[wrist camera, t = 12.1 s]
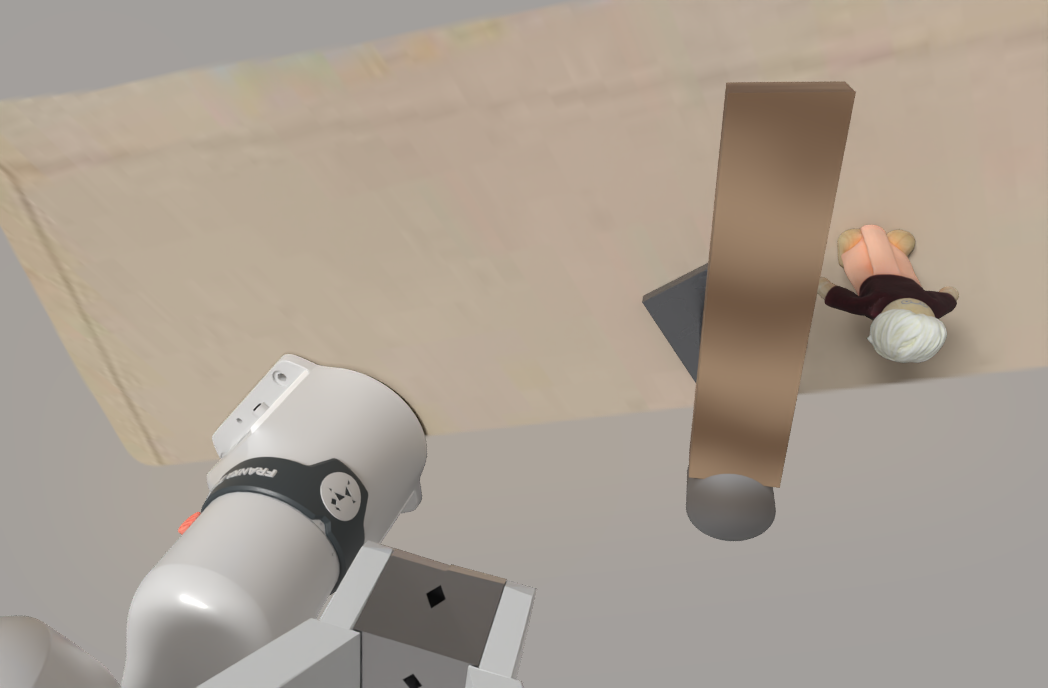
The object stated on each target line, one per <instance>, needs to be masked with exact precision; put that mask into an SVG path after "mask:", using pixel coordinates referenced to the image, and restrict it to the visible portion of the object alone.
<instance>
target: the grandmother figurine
mask: <svg viewBox="0 0 1048 688" xmlns="http://www.w3.org/2000/svg"><path fill="white" fill-rule="evenodd" d="M914 246H915V239H914V237H913V235H912V234H910V233H909V232H906V231H903V230H894V231H891V232H889V233H887V234H886V232H885V231H884V229H883V228H881V227H879V226H877V225H865V226H863V227H862V228H861V229H850V230H847V231H845V232H844V233H842V234H841V236H840V237H839V239H838V261H839V264H840V266H842V267H843V268H844V270H845V273H846V275H847V277H848V279H849V281H850V282H851V283H852V285H853V286H854V288H855V290H856V292H857V294H858V295H856V294H855V293H854V292H852V291H850V290H848V289H846V288H842V287H840V286H836V285H835V284H833V283H830V281H829V280H828V279H826V278H824V277H820V280H819V285H818V291H817V294H819V295H820V296H821V298H823V299H824V300H825V304H826V305H828V306H830V307H832V308H836V309H839V310H843V311H846V312H849V313H852V314H857V315H863V316H866V317H868V318H870V319H872V320H873V322H872V324H871V327H870V336H869V337H868V338H867V339H868V340H869V342H870V343H871V344H872V345H873V346H874V349H875V350H876V352H877V353H878V354H880V355H881V356H882V357H883V358H885V359H889V360H892V361H895V362H901V363H907V362H915V363H919V362H924V361H926V360H928V359H930V358H931V357H933V356H934V355H935V354H936V353H937V352H938V351H939V350H940V348H941V347H942V346H943V344H944V342H945V339H946V337H947V331H946V327H945V326H944V324H943V323H942V322H941V321H940V320H939V318H941V317H943V316H944V315H946V314H947V313H949V312H951V311H952V310H953V309H954V308H955V307H956V304H957V302H956V301H957V299H958V297H959V293H958V291H957V290H956V289H955V288H953V287H944V288H942V289H941V290H940V291H939V292H935V291H924V290H923V288H922V287H921V284H920V282H919V280H918V278H917V277H916V275H915V273H914V270H913V268H912V265H911V263H910V261H909V259H908V257H907V256H908V255H909V254H910V252H911V251H912V250H913V248H914Z"/></svg>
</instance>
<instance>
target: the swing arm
mask: <svg viewBox="0 0 1048 688" xmlns="http://www.w3.org/2000/svg"><path fill="white" fill-rule="evenodd" d="M855 93H856V92H855V91H854V90H853V89H852V88H851V87H850V86H849V85H848V84H847V83H846V82H738V83H726V91H725V101H724V111H723V121H722V131H721V141H720V151H719V161H718V171H717V181H716V191H715V201H714V211H713V221H712V231H711V241H710V251H709V261H708V271H707V281H706V291H705V301H704V311H703V321H702V331H701V341H700V351H699V361H698V371H697V381H696V391H695V401H694V411H693V422H692V431H691V441H690V452H689V454H690V455H689V467H688V470H687V495H686V510H687V514H688V517H689V519H690V521H691V522H692V524H693V525H694V526H695V527H696V528H697V529H699V530H700V531H701V532H703V533H704V534H706V535H708V536H711V537H713V538H716V539H720V540H725V541H742V540H747V539H751V538H754V537H756V536H758V535H760V534H762V533H763V532H765V531H766V530H767V529H768V528H769V527H770V526H771V524H772V523H773V521H774V518H775V512H776V510H775V501H774V493H773V487H778V488H779V487H780V483H781V477H782V472H783V467H784V462H785V457H786V452H787V447H788V441H789V436H790V431H791V425H792V421H793V415H794V410H795V405H796V400H797V395H798V389H799V384H800V379H801V374H802V369H803V363H804V358H805V353H806V348H807V343H808V337H809V332H810V327H811V322H812V317H813V311H814V306H815V301H816V296H817V291H818V285H819V280H820V275H821V270H822V265H823V259H824V254H825V249H826V244H827V239H828V233H829V228H830V223H831V218H832V213H833V207H834V202H835V197H836V192H837V187H838V181H839V176H840V171H841V166H842V161H843V155H844V150H845V145H846V140H847V135H848V129H849V124H850V119H851V114H852V109H853V103H854V98H855Z"/></svg>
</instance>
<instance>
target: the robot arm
mask: <svg viewBox="0 0 1048 688" xmlns="http://www.w3.org/2000/svg"><path fill="white" fill-rule="evenodd" d="M283 374H284V375H285V376H284V375H283ZM212 441H213V444H214V446H215V449H216V451H217V453H218V455H219V457H220V461H219V462H218V463H217V464H216V465H215V466H214V467H213V468H212V469H211V470H210V471H209V473H208V474H207V484H208V487H209V490H210V493H209V494H208V496H207V498H206V501H205V503H204V505H203V507H202V510H201V513H200V512H197V513H195V514H193V515H192V516H190V517H189V518H188V519H187V520H186V521H185V522H184V523H183V524H182V525H181V526H180V528H179V530H178V531H179V533H180V534H182V536H181V537H180V538H179V539H178V540H177V541H176V542H175V544H174V545H173V546H172V547H171V548H170V549H169V551H167V553H166V554H165V555H164V556H163V557H162V558H161V559H160V561H159V562H158V563H157V564H156V565H155V566H154V567H153V569H152V570H151V571H150V572H149V573H148V574H147V575H146V576H145V578H144V579H143V580H142V582H141V584H140V585H139V587H138V589H137V591H136V593H135V595H134V597H133V600H132V602H131V605H130V609H129V614H128V620H127V654H126V664H125V669H124V674H123V679H122V682H121V686H120V684H119V683H118V682H117V680H116V679H115V678H114V676H113V675H112V674H111V673H110V671H109V670H108V669H107V668H106V667H105V666H104V665H103V664H101V663H100V662H99V661H97V660H96V659H95V658H93V657H92V656H91V655H89V654H88V653H87V652H85V651H84V650H83V649H81V648H80V647H79V646H77V645H76V644H75V643H73V642H72V641H70V640H69V639H67V638H66V637H64V636H63V635H61V634H60V633H58V632H57V631H55V630H54V629H53V628H51V627H50V626H48V625H47V624H45V623H44V622H42V621H40V620H38V619H36V618H32V617H29V616H17V615H16V616H3V617H0V688H524V686H523V683H522V681H520V680H517V679H516V678H517V674H518V670H519V666H520V662H521V658H522V653H523V649H524V644H525V640H526V635H527V631H528V626H529V622H530V617H531V613H532V608H533V603H534V599H535V594H536V588H533V587H530V586H526V585H523V584H519V583H515V582H512V581H508V580H507V579H504V578H500V577H496V576H493V575H489V574H485V573H481V572H477V571H474V570H470V569H466V568H463V567H459V566H455V565H447V564H444V563H441V562H437V561H434V560H431V559H428V558H425V557H421V556H418V555H415V554H412V553H408V552H405V551H402V550H399V549H396V548H392V547H389V546H385V545H382V544H380V543H381V542H382V540H383V539H384V537H385V536H386V534H387V533H388V531H389V530H390V528H391V527H392V525H393V524H394V522H395V521H396V519H397V518H398V516H399V515H400V513H405V512H410V511H413V510H415V509H416V508H417V506H418V505H419V504H420V502H421V500H422V494H421V493H422V492H421V486H420V476H421V473H422V471H423V468H424V466H425V462H426V458H427V444H426V439H425V435H424V432H423V429H422V427H421V425H420V423H419V421H418V419H417V417H416V416H415V414H414V413H413V411H412V410H411V409H410V407H409V406H408V405H407V404H406V403H405V402H404V401H403V400H402V399H401V398H400V397H399V396H398V395H397V394H396V393H395V392H394V391H392V390H391V389H390V388H388V387H387V386H385V385H384V384H382V383H381V382H379V381H377V380H375V379H373V378H371V377H369V376H367V375H365V374H362V373H359V372H356V371H353V370H348V369H343V368H335V367H326V366H320V365H317V364H315V363H313V362H311V361H308V360H306V359H304V358H302V357H299V356H296V355H293V354H285V355H283V356H282V357H281V358H280V359H279V360H278V361H277V362H276V364H275V365H274V366H273V367H272V368H271V369H270V370H269V371H268V372H267V374H266V375H265V376H264V377H263V378H262V379H261V380H260V381H259V383H258V384H257V385H256V386H255V387H254V388H253V389H252V390H251V392H250V393H249V394H248V395H247V396H246V397H245V398H244V399H243V401H242V402H241V403H240V404H239V405H238V406H237V407H236V408H235V410H234V411H233V412H232V413H231V414H230V415H229V416H228V417H227V419H226V420H225V421H224V422H223V423H222V424H221V425H220V427H219V428H218V429H217V430H216V432H215V433H214V434H213V436H212ZM335 591H336V592H335ZM334 592H335V594H334V596H333V597H332V599H331V601H330V603H329V604H328V606H327V608H326V609H325V611H324V613H323V615H322V616H321V618H320V620H318V619H316V618H317V616H318V614H319V613H320V611H321V609H322V607H323V605H324V604H325V602H326V600H327V598H328V596H329V595H331V594H333V593H334Z"/></svg>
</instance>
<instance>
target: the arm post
mask: <svg viewBox="0 0 1048 688" xmlns="http://www.w3.org/2000/svg"><path fill="white" fill-rule="evenodd" d="M707 271H708V263H707V264H705V265H703V266H701V267H699V268H697V269H695V270H693V271H691V272H689V273H687V274H686V275H684V276H682V277H680V278H678V279H676V280H674V281H672V282H670V283H668V284H666V285H664V286H662V287H660V288H658V289H656V290H654V291H652V292H650V293H648V294H646V295H644V296H643V301H642V303H643V304H644V306H645V307H646V309H647V310H648V312H649V313H650V315H651V316H652V318H653V319H654V321H655V322H656V324H657V325H658V327H659V328H660V330H661V331H662V333H663V334H664V336H665V337H666V339H667V340H668V342H669V343H670V345H671V346H672V348H673V349H674V351H675V352H676V354H677V355H678V357H679V358H680V360H681V361H682V363H683V364H684V366H685V367H686V369H687V370H688V372H689V373H690V375H691V376H692V378H693V379H694V381H695V382H696V381H697V371H698V361H699V351H700V341H701V331H702V321H703V311H704V301H705V291H706V281H707Z"/></svg>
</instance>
